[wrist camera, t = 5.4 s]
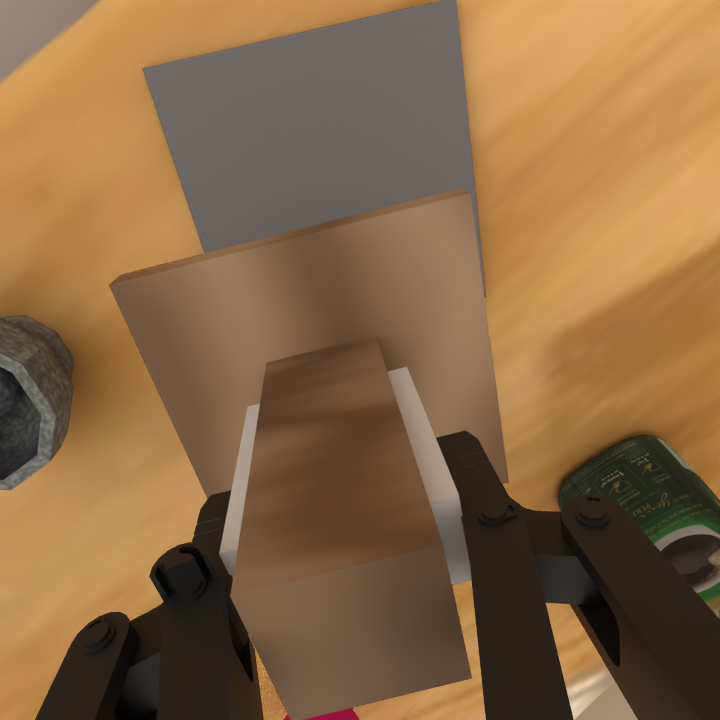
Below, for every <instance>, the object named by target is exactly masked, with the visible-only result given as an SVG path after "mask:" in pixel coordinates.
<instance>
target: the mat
mask: <svg viewBox="0 0 720 720" xmlns="http://www.w3.org/2000/svg"><path fill="white" fill-rule="evenodd" d="M142 69H143V72H144V75H145V78H146V81H147V84H148V87H149V90H150V93H151V96H152V99H153V102H154V105H155V108H156V111H157V114H158V117H159V119H160V122H161V125H162V128H163V131H164V134H165V137H166V140H167V143H168V146H169V149H170V152H171V155H172V158H173V161H174V164H175V167H176V170H177V173H178V176H179V179H180V182H181V185H182V188H183V191H184V194H185V197H186V199H187V202H188V205H189V208H190V211H191V214H192V217H193V220H194V223H195V226H196V229H197V232H198V235H199V238H200V241H201V244H202V247H203V250H204V253H208V252H212V251H216V250H220V249H224V248H228V247H232V246H236V245H240V244H244V243H248V242H251V241H255V240H259V239H263V238H267V237H271V236H275V235H279V234H283V233H287V232H291V231H295V230H298V229H302V228H306V227H310V226H314V225H318V224H322V223H326V222H330V221H334V220H338V219H342V218H345V217H349V216H353V215H357V214H361V213H365V212H369V211H373V210H377V209H381V208H385V207H389V206H393V205H396V204H400V203H404V202H408V201H412V200H416V199H420V198H424V197H428V196H432V195H436V194H440V193H443V192H447V191H451V190H455V189H459V188H461V189H463V190H465V191H467V192H470V194H471V201H472V209H473V216H474V224H475V231H476V239H477V246H478V254H479V262H480V269H481V277H482V284H483V292H484V298H486V291H485V281H484V271H483V261H482V251H481V242H480V232H479V222H478V212H477V202H476V192H475V182H474V172H473V162H472V152H471V142H470V133H469V123H468V113H467V103H466V93H465V83H464V73H463V63H462V53H461V43H460V33H459V24H458V14H457V4H456V0H442V1H437V2H433V3H428V4H424V5H420V6H415V7H411V8H406V9H402V10H398V11H393V12H389V13H384V14H380V15H376V16H371V17H367V18H362V19H358V20H353V21H349V22H345V23H340V24H336V25H331V26H327V27H323V28H318V29H314V30H309V31H305V32H301V33H296V34H292V35H287V36H283V37H279V38H274V39H270V40H265V41H261V42H257V43H252V44H248V45H243V46H239V47H234V48H230V49H226V50H221V51H217V52H212V53H208V54H204V55H199V56H195V57H190V58H186V59H182V60H177V61H173V62H168V63H164V64H160V65H155V66H151V67H146V68H142Z"/></svg>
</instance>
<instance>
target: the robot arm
mask: <svg viewBox="0 0 720 720" xmlns="http://www.w3.org/2000/svg"><path fill="white" fill-rule="evenodd" d="M388 375H389V378H390V381H391V384H392V387H393V391H394V394H395V397H396V400H397V403H398V406H399V409H400V412H401V415H402V419H403V422H404V425H405V428H406V431H407V434H408V437H409V440H410V443H411V446H412V450H413V453H414V456H415V459H416V462H417V465H418V468H419V471H420V474H421V478H422V481H423V484H424V487H425V490H426V493H427V496H428V499H429V502H430V505H431V509H432V512H433V515H434V518H435V521H436V524H437V527H438V530H439V533H440V536H441V540H442V543H443V547H444V551H445V556H446V560H447V565H448V570H449V574H450V579H451V583H452V585H454V584H458V583H462V582H466V581H470V580H472V588H473V598H474V608H475V617H476V627H477V637H478V646H479V656H480V666H481V675H482V685H483V695H484V705H485V714H486V720H574V719H573V715H572V711H571V707H570V703H569V699H568V694H567V690H566V686H565V682H564V678H563V674H562V670H561V665H560V661H559V657H558V653H557V649H556V645H555V641H554V636H553V632H552V628H551V624H550V620H549V616H548V611H547V607H546V603H562V604H570V605H571V607H572V609H573V610H574V612H575V614H576V616H577V617H578V619H579V621H580V622H581V624H582V626H583V627H584V629H585V631H586V632H587V634H588V636H589V638H590V639H591V641H592V643H593V644H594V646H595V648H596V649H597V651H598V653H599V655H600V656H601V658H602V660H603V661H604V663H605V665H606V666H607V668H608V670H609V671H610V673H611V675H612V677H613V678H614V680H615V682H616V683H617V685H618V687H619V688H620V690H621V692H622V693H623V695H624V697H625V699H626V700H627V702H628V703H629V705H630V707H631V709H632V710H633V712H634V714H635V715H636V717H637V719H638V720H720V619H719V618H718V617H717V616H716V614H715V613H714V612H713V611H712V610H711V609H710V607H709V606H708V605H707V604H706V603H705V602H704V601H703V599H702V598H701V597H700V596H699V595H698V594H697V593H696V591H695V590H694V589H693V588H692V587H691V586H690V585H689V583H688V582H687V581H686V580H685V579H684V578H683V577H682V575H681V574H680V573H679V572H678V571H677V570H676V569H675V567H674V566H673V565H672V564H671V563H670V562H669V561H668V559H667V558H666V557H665V556H664V555H663V554H662V553H661V551H660V550H659V549H658V548H657V547H656V546H655V545H654V543H653V542H652V541H651V540H650V539H649V538H648V537H647V535H646V534H645V533H644V532H643V531H642V530H641V529H640V527H639V526H638V525H637V524H636V523H635V522H634V520H633V519H632V518H631V517H630V516H629V515H628V514H627V512H626V511H625V510H624V509H623V508H622V507H621V506H620V505H619V504H617V503H616V502H615V501H614V500H612V499H609V498H607V497H604V496H602V495H595V494H584V495H577V496H575V497H573V498H570V499H568V500H567V501H566V502H565V503H564V505H563V506H562V508H561V512H547V511H534V510H530V509H526V508H524V507H522V506H520V504H518V503H517V502H516V501H514V500H513V499H512V498H510V497H509V495H508V494H507V492H506V490H505V488H504V486H503V485H502V483H501V481H500V479H499V477H498V475H497V473H496V471H495V470H494V468H493V466H492V464H491V462H490V461H489V458H488V456H487V455H486V453H485V452H484V449H483V447H482V445H481V443H480V442H479V440H478V438H476V437H475V436H473V435H472V434H470V433H469V432H467V431H466V430H465V431H461V432H457V433H453V434H449V435H445V436H441V437H437V438H436V437H435V435H434V432H433V430H432V427H431V425H430V422H429V420H428V418H427V415H426V413H425V410H424V408H423V405H422V403H421V400H420V398H419V395H418V393H417V390H416V388H415V385H414V383H413V381H412V378H411V376H410V373H409V371H408V368H407V367H404V368H400V369H396V370H392V371H388ZM259 407H260V404H256V405H252V406H248V408H247V413H246V418H245V423H244V428H243V434H242V439H241V444H240V449H239V454H238V459H237V465H236V470H235V475H234V480H233V485H232V490H229V491H225V492H221V493H217V494H213V495H210V497H209V498H208V500H207V501H206V502H205V504H204V505H203V506H202V508H201V509H200V513H199V517H198V521H197V525H196V528H195V532H194V535H195V536H194V537H193V540H192V542H188V543H185V544H181V545H178V546H176V547H174V548H172V549H170V550H168V551H167V552H166V553H165V554H163V555H162V556H161V557H160V558H159V559H158V560H157V562H156V563H155V564H154V566H153V567H152V569H151V572H150V576H149V577H150V578H151V580H152V582H153V584H154V585H155V587H156V589H157V591H158V592H159V594H160V596H161V598H162V599H163V601H164V602H163V603H162V604H161V605H159V606H158V607H156V608H154V609H153V610H151V611H149V612H147V613H145V614H143V615H141V616H139V617H137V618H135V619H133V620H131V621H130V620H129V618H128V617H127V615H125V614H123V613H121V612H110V613H107V614H104V615H102V616H99V617H98V618H96V619H94V620H93V621H91V622H90V623H88V624H87V625H86V626H85V627H84V628H83V629H82V630H81V631H80V632H79V633H78V634H77V636H76V637H75V639H74V640H73V642H72V643H71V645H70V647H69V649H68V652H67V654H66V656H65V658H64V660H63V662H62V664H61V666H60V668H59V670H58V673H57V675H56V677H55V679H54V681H53V683H52V685H51V687H50V689H49V692H48V694H47V696H46V698H45V700H44V702H43V704H42V706H41V708H40V710H39V713H38V715H37V717H36V719H35V720H264V718H263V711H262V703H261V695H260V687H259V680H258V672H257V664H256V656H255V649H254V647H253V644H252V642H251V640H250V638H249V636H248V635H249V634H248V632H247V630H246V628H245V626H244V624H243V622H242V620H241V618H240V616H239V614H238V611H237V609H236V607H235V605H234V603H233V601H232V599H231V597H230V595H231V588H232V582H233V575H234V569H235V562H236V556H237V549H238V543H239V536H240V530H241V523H242V517H243V510H244V504H245V497H246V491H247V485H248V478H249V472H250V465H251V459H252V452H253V446H254V439H255V433H256V426H257V420H258V413H259ZM545 602H546V603H545Z"/></svg>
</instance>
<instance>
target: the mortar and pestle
mask: <svg viewBox="0 0 720 720" xmlns="http://www.w3.org/2000/svg"><path fill="white" fill-rule="evenodd" d="M73 361H74V359H73V357H72V356H71V354H70V352H69V351H68V349H67V348H66V346H65V344H64V343H63V341H62V340H61V338H60V336H59V335H58V333H57V332H55V331H53V330H51V329H50V328H48V327H46V326H44V325H42V324H40V323H38V322H37V321H35V320H33V319H31V318H29V317H27V316H0V490H12V489H13V488H14V487H16V486H17V485H19V484H20V483H21V482H23V481H24V480H25V479H27V478H28V477H29V476H31V475H32V474H33V473H35V472H36V471H38V470H39V469H40V468H42V467H43V466H44V465H46V464H47V463H48V462H50V461H51V460H52V458H53V457H54V456H55V454H56V453H57V452H58V450H59V449H60V448H61V445H62V443H63V441H64V438H65V436H66V434H67V431H68V426H69V418H70V411H71V403H72V395H73V385H72V382H71V377H72V369H73Z"/></svg>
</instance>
